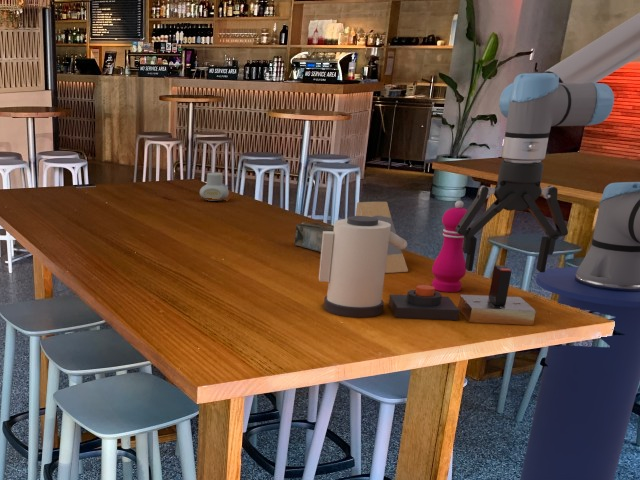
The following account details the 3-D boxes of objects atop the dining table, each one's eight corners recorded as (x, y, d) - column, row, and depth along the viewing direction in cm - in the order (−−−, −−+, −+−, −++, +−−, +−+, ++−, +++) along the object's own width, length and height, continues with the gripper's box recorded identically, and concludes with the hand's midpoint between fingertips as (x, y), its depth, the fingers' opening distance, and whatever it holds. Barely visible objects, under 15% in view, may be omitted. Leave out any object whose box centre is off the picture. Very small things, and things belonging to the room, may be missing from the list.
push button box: (446, 306, 168) (449, 288, 167) (457, 320, 159) (460, 301, 157) (388, 304, 170) (390, 286, 168) (395, 317, 161) (398, 298, 159)
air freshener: (230, 199, 301) (231, 172, 297) (226, 203, 294) (227, 175, 290) (201, 198, 304) (202, 171, 300) (197, 201, 296) (198, 174, 293)
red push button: (431, 293, 164) (432, 285, 164) (435, 298, 161) (436, 289, 160) (413, 292, 165) (414, 284, 164) (416, 297, 162) (418, 289, 161)
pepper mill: (442, 283, 186) (455, 196, 179) (469, 290, 181) (484, 201, 173) (422, 287, 182) (435, 199, 175) (449, 294, 177) (464, 204, 169)
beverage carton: (315, 242, 228) (317, 219, 226) (362, 256, 213) (365, 231, 210) (293, 245, 225) (295, 222, 222) (339, 259, 209) (342, 234, 207)
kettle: (393, 303, 171) (405, 214, 163) (403, 319, 160) (416, 225, 152) (314, 299, 173) (322, 212, 166) (318, 315, 162) (327, 222, 155)
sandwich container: (377, 273, 195) (384, 212, 189) (350, 259, 209) (356, 202, 203) (409, 272, 196) (417, 211, 190) (380, 258, 210) (387, 201, 204)
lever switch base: (517, 310, 165) (520, 296, 164) (533, 325, 156) (536, 309, 155) (457, 308, 167) (460, 293, 166) (469, 322, 158) (471, 307, 157)
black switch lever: (488, 298, 163) (494, 263, 160) (498, 298, 163) (504, 264, 160) (494, 305, 158) (501, 269, 156) (505, 305, 158) (511, 270, 155)
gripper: (458, 162, 148) (442, 273, 156) (600, 162, 145) (577, 276, 153) (449, 158, 155) (435, 264, 163) (585, 158, 152) (564, 266, 160)
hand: (504, 270), depth 158 cm, fingers open, 13 cm apart
